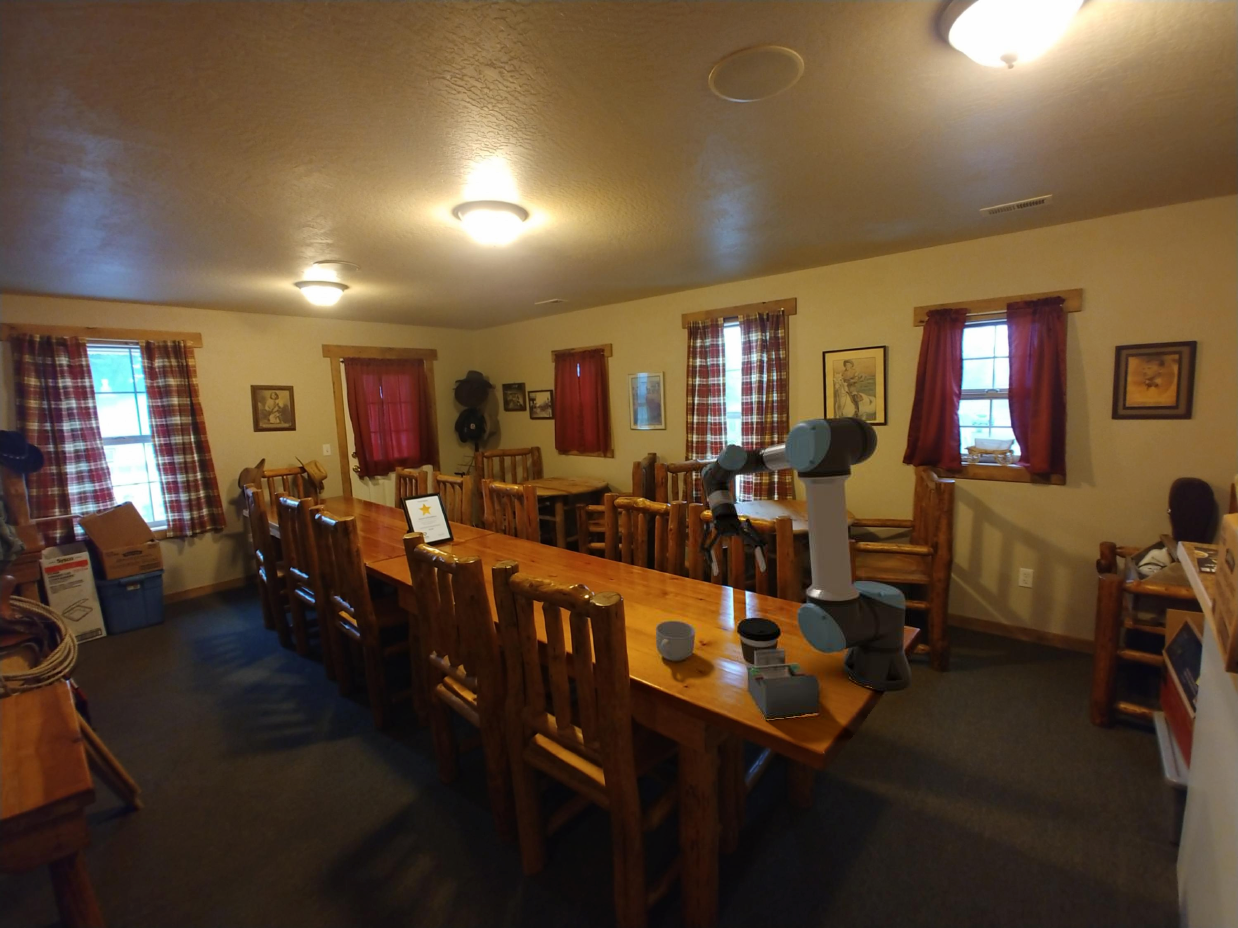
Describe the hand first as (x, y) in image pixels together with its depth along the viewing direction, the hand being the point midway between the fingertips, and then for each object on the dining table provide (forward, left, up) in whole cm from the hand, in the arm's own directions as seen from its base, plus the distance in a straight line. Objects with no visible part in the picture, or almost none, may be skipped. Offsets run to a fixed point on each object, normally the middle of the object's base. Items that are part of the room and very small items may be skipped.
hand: (740, 571), depth 144 cm
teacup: (+18, -11, -22) cm, 30 cm away
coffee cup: (+10, +10, -22) cm, 26 cm away
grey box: (+21, +21, -22) cm, 36 cm away
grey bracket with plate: (+18, +17, -20) cm, 32 cm away
